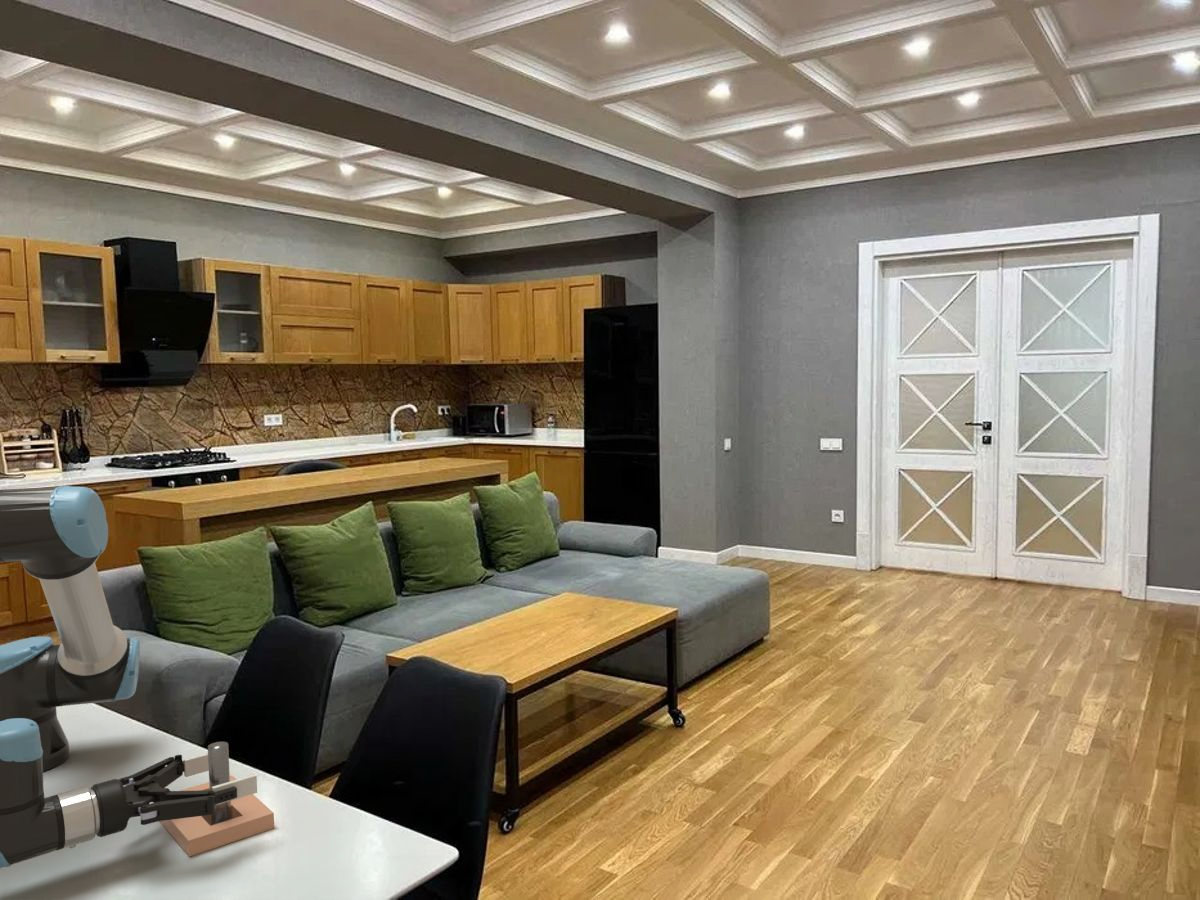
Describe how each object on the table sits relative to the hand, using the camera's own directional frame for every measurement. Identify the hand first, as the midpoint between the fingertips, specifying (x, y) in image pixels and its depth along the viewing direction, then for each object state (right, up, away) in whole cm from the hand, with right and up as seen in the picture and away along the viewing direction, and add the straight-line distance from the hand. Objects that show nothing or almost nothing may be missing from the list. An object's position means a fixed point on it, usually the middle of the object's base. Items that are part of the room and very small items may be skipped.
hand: (240, 769), depth 145 cm
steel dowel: (-2, -9, -2) cm, 10 cm away
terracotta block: (-5, -9, +2) cm, 11 cm away
